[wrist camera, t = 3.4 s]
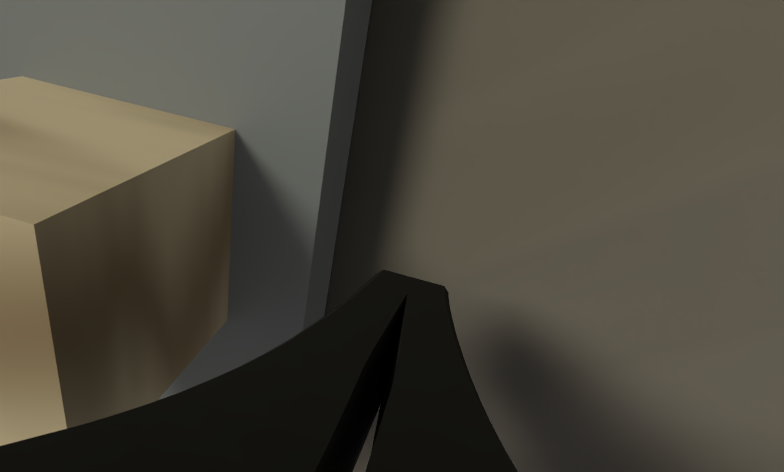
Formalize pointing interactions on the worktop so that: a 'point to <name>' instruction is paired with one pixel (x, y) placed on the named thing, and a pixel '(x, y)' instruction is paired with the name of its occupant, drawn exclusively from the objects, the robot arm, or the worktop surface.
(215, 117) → the trap board
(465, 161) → the worktop surface
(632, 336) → the worktop surface
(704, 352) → the worktop surface
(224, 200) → the block
